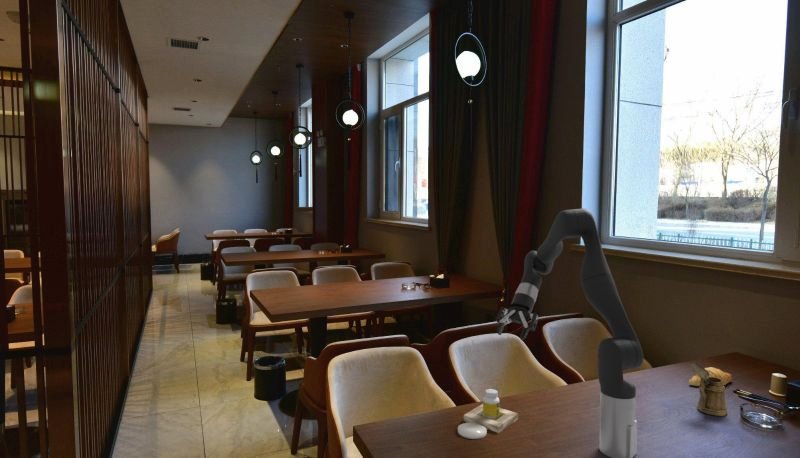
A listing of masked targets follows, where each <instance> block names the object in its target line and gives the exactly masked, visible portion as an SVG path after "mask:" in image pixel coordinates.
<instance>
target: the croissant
mask: <svg viewBox="0 0 800 458" xmlns="http://www.w3.org/2000/svg"><path fill="white" fill-rule="evenodd" d="M703 368H704V369H706V370H707V372H708V373H709V376H710V377H716V378H719V379H721V380H723V384H724V385H725V386H726V385H727V384H728V383H730V382H731V381H732V378H733V375H732V374H731V373H729V372H724V371H722V370H721V369H719V368H716V367H712V366H709V367H703ZM700 380H701V379H700V377H699V376H697V375H696V374H695V375H693V376H692V377H691V378H690V379H688V384H689V385H692V386H694V387H699V385H700Z"/></svg>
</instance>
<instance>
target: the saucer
mask: <svg viewBox="0 0 800 458" xmlns="http://www.w3.org/2000/svg"><path fill="white" fill-rule="evenodd" d="M487 430H488V429H486V428H485V427H484V426H483V425H480V424H477V423H468V422H465V423H464V422H463V423H462V424H459V425H458V427H457V434H458V435H459V436H460V437H463V438H464V439H471V440H478V439H483V438H485V437H487V434H488V433H487V432H488V431H487Z"/></svg>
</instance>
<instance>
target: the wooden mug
mask: <svg viewBox="0 0 800 458" xmlns="http://www.w3.org/2000/svg"><path fill="white" fill-rule="evenodd" d="M690 368H691V370H692V372H693V373H694V374H695V375H697V376H699V377H700V379H701V380H700V385H699V386H698V388H699V389H698V390H699V391H698V392H699V398H698V402H697V403H696V404H697V405H696V409H697V410H698V411H699V412H701V413H704V414H706V415H710V416H713V415H714V417H725V416H727V415H728V408H727V405H726V403H727V402H726V396H725V391H726V388H725V387H726V385H725V386H724V384H723V380H721V379H719V378H716V377H710V376H709V373H708V372H707V370H706V369H704V368H705V367H703V366H702V365H700V364H698V363H697V362H693V363H691V364H690ZM726 414H727V415H726Z"/></svg>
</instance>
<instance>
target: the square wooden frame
mask: <svg viewBox="0 0 800 458" xmlns="http://www.w3.org/2000/svg"><path fill="white" fill-rule="evenodd" d="M518 420H519V413H518V412H514V411H511V410H508V409H504V408H501V407H499V418H498V419H497V420H495V421H494V420H491V419H488V418H485V417H483V403H481V404H480V405H478V406H476V407H475V408H473V409H471V410H469V411H468V412H465V414H463V422H465V423H477V424H480V425H483V426H484V427H485V428H486V429H487V430H490V431H492V432H495V433H497V434H499V433H501V432H502V431H504V430H505V429H507V427H509V426H511V425H512V424H513V423H515V422H516V421H518Z"/></svg>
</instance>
